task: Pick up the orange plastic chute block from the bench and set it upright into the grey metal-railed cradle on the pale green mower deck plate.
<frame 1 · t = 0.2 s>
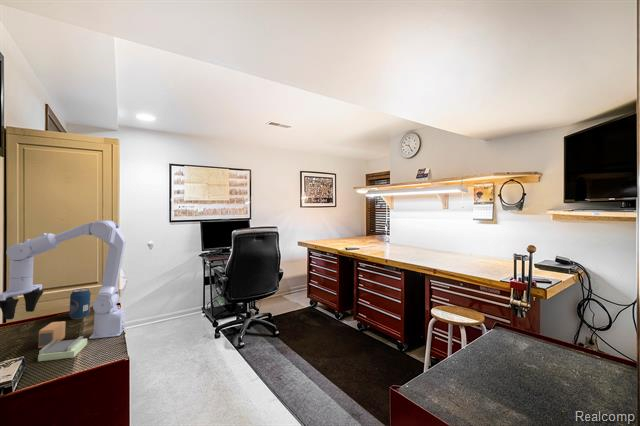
hand: (20, 315, 99), 10 cm above the table, tool pointing down, fingers open, 7 cm apart
chute: (52, 342, 100), on the table
soda can: (79, 317, 125), on the table
mower deck: (64, 352, 94), on the table
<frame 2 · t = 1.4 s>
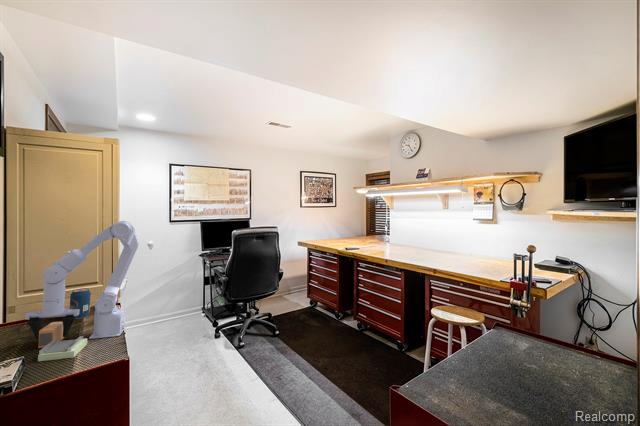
hand: (52, 337, 100), 2 cm above the table, tool pointing down, fingers open, 7 cm apart
nothing on the table moved.
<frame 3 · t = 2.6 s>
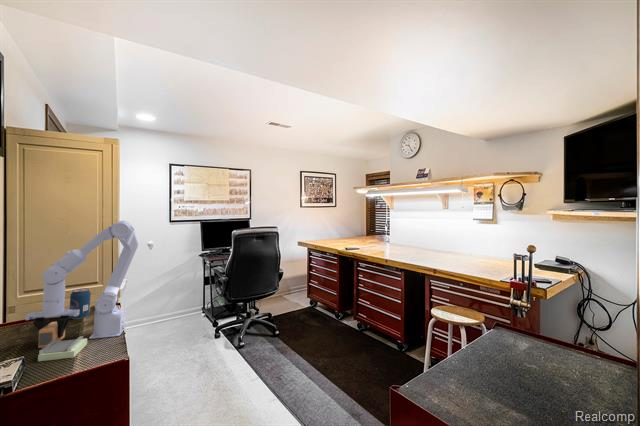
hand: (52, 337, 101), 2 cm above the table, tool pointing down, fingers closed on chute, 4 cm apart
chute: (52, 342, 100), on the table, touching gripper
everything else where it was.
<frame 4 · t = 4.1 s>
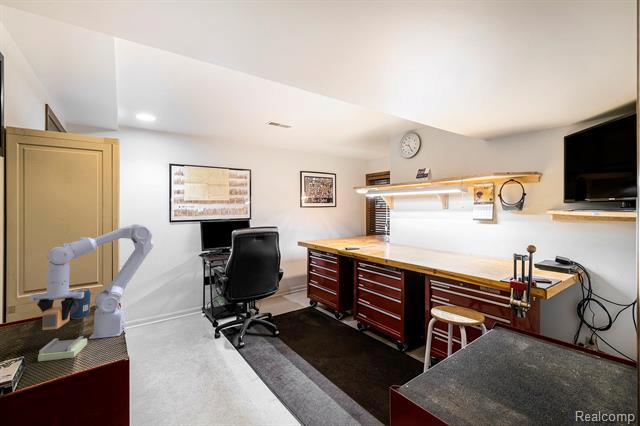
hand: (56, 320, 98), 9 cm above the table, tool pointing down, fingers closed on chute, 4 cm apart
chute: (56, 324, 98), point 7 cm above the table, touching gripper
everything else where it was.
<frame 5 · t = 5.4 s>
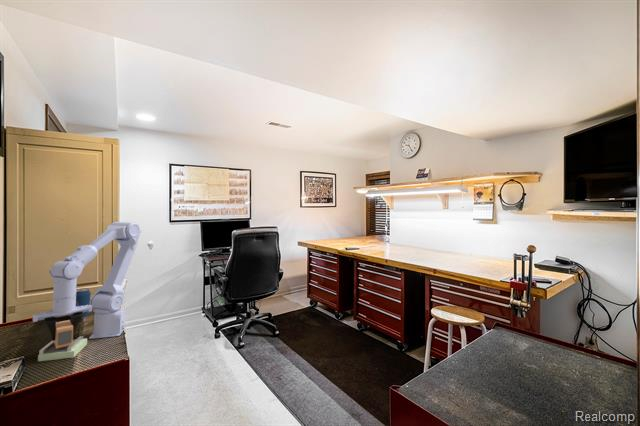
hand: (62, 337, 94), 5 cm above the table, tool pointing down, fingers closed on chute, 4 cm apart
chute: (62, 342, 94), point 3 cm above the table, touching gripper, mower deck
everything else where it was.
when the fingers open (5 cm above the table, at t = 6.1 s): chute stays where it is, resting on mower deck.
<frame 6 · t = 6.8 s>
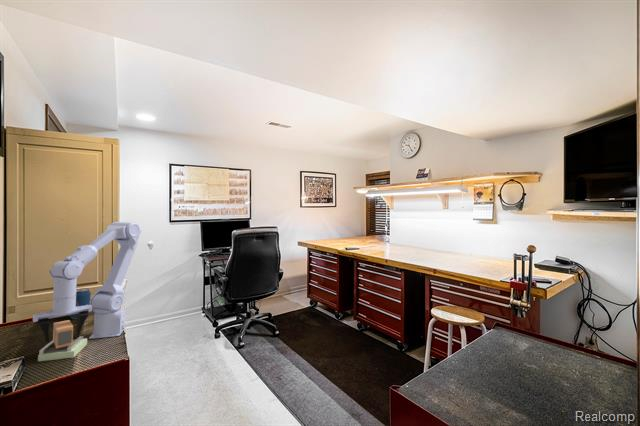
hand: (62, 337, 94), 5 cm above the table, tool pointing down, fingers open, 7 cm apart
chute: (62, 342, 94), point 3 cm above the table, touching mower deck
everything else where it was.
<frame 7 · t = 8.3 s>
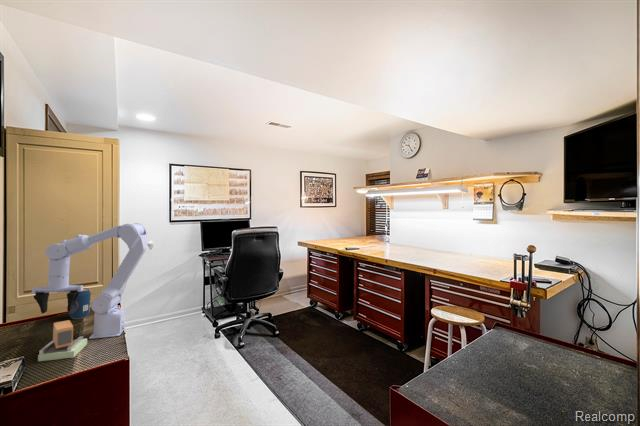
hand: (57, 311, 105), 9 cm above the table, tool pointing down, fingers open, 7 cm apart
nothing on the table moved.
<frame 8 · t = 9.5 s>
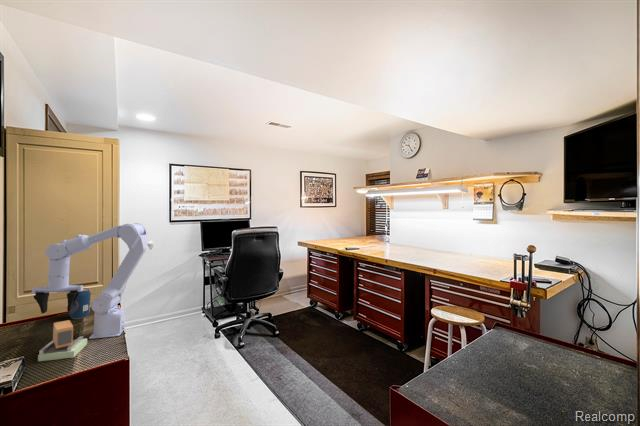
hand: (57, 311, 105), 9 cm above the table, tool pointing down, fingers open, 7 cm apart
nothing on the table moved.
at the end: chute 0.1 cm off-centre on the mower deck, point 3.2 cm above the mower deck's base; chute tilted 0°; the gripper is holding nothing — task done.
